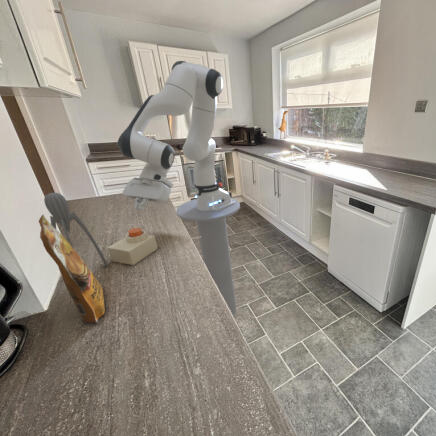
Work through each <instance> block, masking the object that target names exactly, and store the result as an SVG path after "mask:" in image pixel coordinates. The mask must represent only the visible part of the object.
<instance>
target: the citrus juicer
mask: <svg viewBox="0 0 436 436" xmlns="http://www.w3.org/2000/svg"><path fill="white" fill-rule="evenodd" d="M43 199H44V200H43V201H44V206H45V208H46V209H47V211H48V212H49V214H50V215H49V218H50V224H51V225H52V226H53V227H54V228H55V229H56V230H57V224H59V225H60V226H61V227H62V229H63V232H64V235H65V239H66V240H67V241H68V242H69V243H70V245H71V246H72V248H73V249H74V250H75V248H74V246H73V243H72V240H71V238H70V235H69V233H70V231H71V229H70V228H71V222H72V221H73V220H74V221H75V222H76V224H78V225H79V226H80V227H81V229H82V230H83V231H84V233H85V234H86V236H87V237H88V238H89V240H90V241H91V243H92V245H93V246H94V248H95V249H96V251H97V253H98V255H99V257H100V258H101V260H102V263H103V265H104V267H105V268H106V267H108V263H107V260H106V258H105V256H104V254H103V252H102V250H101V248H100V246H99V245H98V243H97V242H96V240H95V238H94V237H93V235H92V233H91V232H90V231H89V228H88V227H87V226H86V225H85V224H84V222H83V221H82V220H81V218H80V217H79V216H78V215H77V213H76V212H75V211H73V212H72V213H71V212H70V207H69V203H68V201H67V199H66V197H65V196H64V195H63V194H61V193H59V192H50V193H47V194H46V195H44V198H43Z"/></svg>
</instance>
